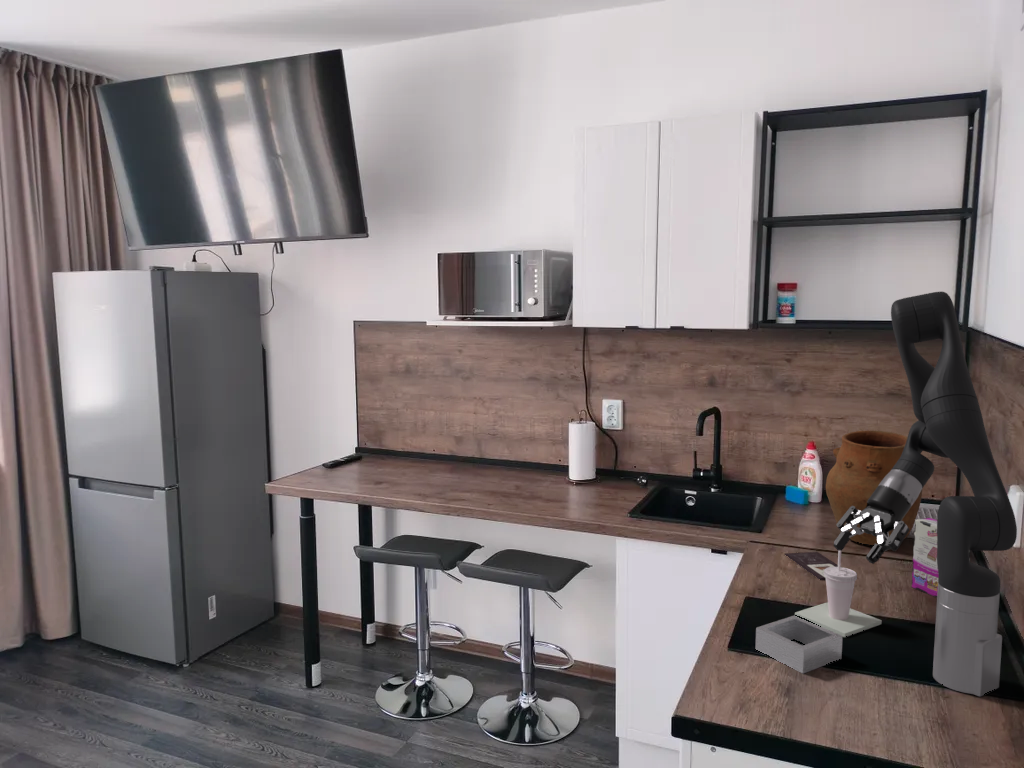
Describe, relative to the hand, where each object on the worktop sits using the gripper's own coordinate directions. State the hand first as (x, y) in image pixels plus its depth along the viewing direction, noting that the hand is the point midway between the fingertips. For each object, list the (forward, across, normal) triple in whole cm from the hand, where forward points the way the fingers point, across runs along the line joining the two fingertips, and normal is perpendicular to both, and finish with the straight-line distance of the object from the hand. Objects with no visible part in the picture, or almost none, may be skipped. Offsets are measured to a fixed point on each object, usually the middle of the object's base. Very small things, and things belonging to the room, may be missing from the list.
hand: (852, 554), depth 160 cm
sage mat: (+12, 0, +7) cm, 14 cm away
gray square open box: (+26, +9, -6) cm, 28 cm away
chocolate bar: (-2, -26, +22) cm, 35 cm away
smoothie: (+12, 0, +7) cm, 13 cm away
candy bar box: (-10, -1, +30) cm, 32 cm away
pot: (-23, -36, +42) cm, 60 cm away
